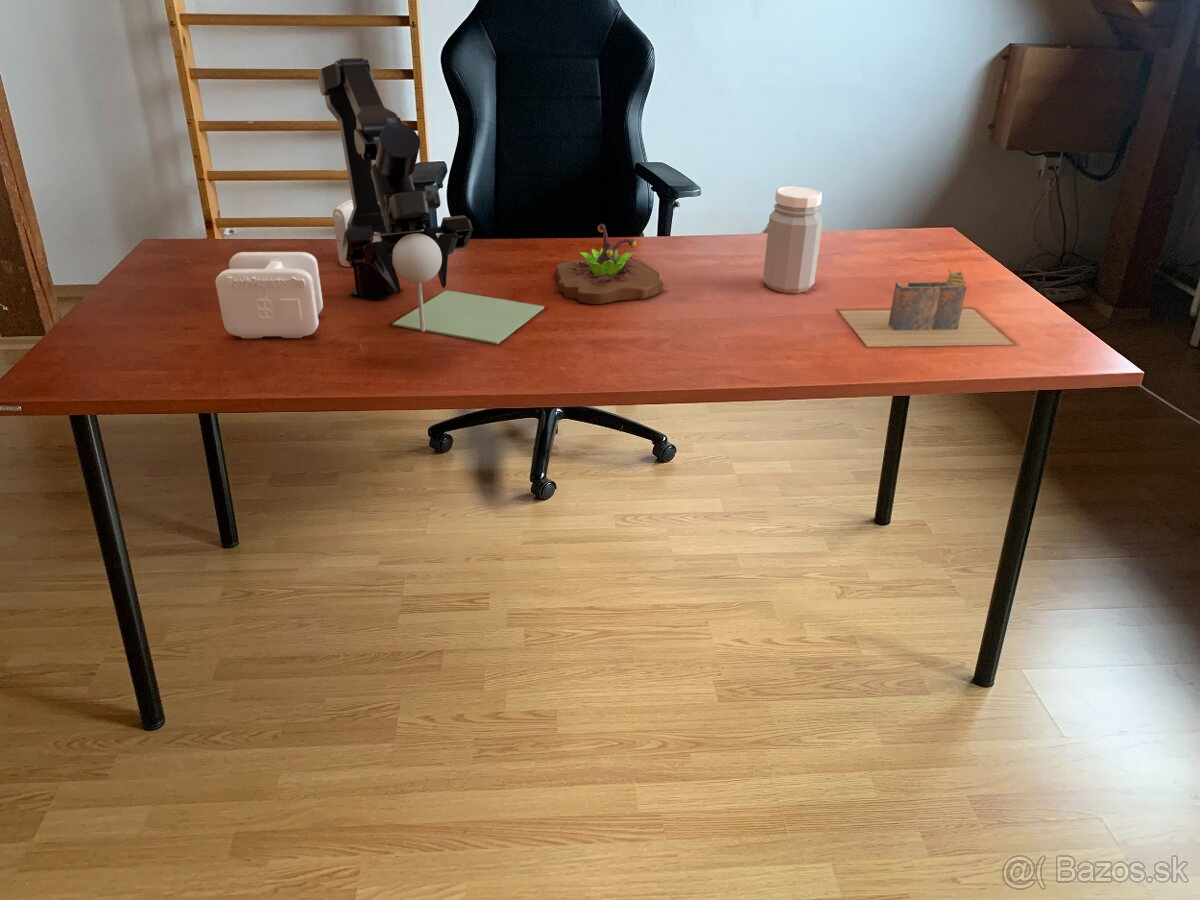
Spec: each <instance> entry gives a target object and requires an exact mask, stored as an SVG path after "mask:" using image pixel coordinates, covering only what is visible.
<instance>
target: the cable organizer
mask: <svg viewBox="0 0 1200 900" xmlns="http://www.w3.org/2000/svg"><path fill="white" fill-rule="evenodd" d="M228 266H229V268H228V269H225V270H223V271H221V272H220V273H219V274H218V275H217V277H216V278H215V283H214V284H215V287H216V293H217V297H218V298H217V299H218V304H219V308H220V313H221V319H222V323H223V328H224V329H225V331H226V332H227V333H228V334H230V335H232V336H235V337H240V338H242V339H261V338H263V337H281V338H283V339H300V338H303V337H307V336H310V335H313V334H314V333H315V332H316V331H317V329H318V327H319V324H320V323H319V322H320V320H319V315H320V313H321V312H322V310H323V308H324V302H323V294H322V287H321V286H322V285H321V279H320V271H319V265H318V260H317V258H316V257H315V256H314V255H313V254H311V253H309V252H305V251H241V252H237V253H235V254H234V255H233V256H232V257H231V258H230V259H229V261H228Z"/></svg>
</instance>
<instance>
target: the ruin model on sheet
mask: <svg viewBox="0 0 1200 900" xmlns="http://www.w3.org/2000/svg"><path fill="white" fill-rule="evenodd" d="M967 288H968V287H967V286H966V280H965V278H964V275H963V272H962V270H961V269H959V271H951V269H948V278H947V280H946V281H932V282H931V281H926V282H925V281H921V282H920V281H917V282H915V281H914V282H910V281H909V282H908V285H907V286H902V285H901V284H900V283H899V282H895V286H894V292H893V296H892V302H891V309H860V310H859V309H857V310H853V309H852V310H848V309H847V310H846V309H845V310H838V312H839V313H840V315H841V316H842V318H844V320H845V321H846V323H847V324H848V325H849V326H850V328H851V329H852V330H853V331H854V333H856V335H857V336H858V337H859V338H860V340H862V342H863V343H864V345H865V346H866V347H867V348H878V347H879V348H880V347H885V348H886V347H944V346H945V347H947V346H949V347H950V346H1005V345H1006V346H1008V345H1012V346H1013V345H1015V344H1014V343H1012V341H1011V340H1009V339H1008V338H1007V337H1006V336H1004V335H1003V334H1002V333H1001V332H1000V331H999V330H998V329H996V327H994V326H993V325H992V324H991V323H989V321H988V320H986V319H985V318H984V317H983V316H982V315H981V314H979V313H978V312H977V311H976V310H975V309H973V308H963V306H964V302H965V298H966V297H965V296H966V292H967Z"/></svg>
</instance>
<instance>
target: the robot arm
mask: <svg viewBox="0 0 1200 900" xmlns="http://www.w3.org/2000/svg"><path fill="white" fill-rule="evenodd" d="M318 86H319V87H318V88H319V92H320V95H321V97H322V96H324V100H325V105H326V108H327V109H328V111H329V112H330V113H331V114H332V116H333V117H334V118H335V119H336V120H337V122H338V126H339V131H340V137H341V142H342V149H343V154H344V159H345V160H344V161H345V166H346V171H347V172H346V173H347V176H348V183H349V189H350V195H351V199H352V201H353V211H352V213H351V216H350V218H349V221H348V224H347V226H348V228H347V229H346V230H345V232H344V239H343V251H344V255H345V259H346V261H348V263H349V264H350V267H351V268H353V276H354V284H355V290H353V291H351V292H350V295H351V296H352V297H358V298H362V299H369V300H376V301H383V300H384V299H386V298H387V297H389V296H392V295H393V294H394V293H396V294H397V295H400V294H401V293H402V289H401V285H400V280H399V277H398V275H397V271H396V270H395V267H394V264H393V260H392V255H393V250H394V247H395V245H396V244H397V242H398V241H399V240H400V239H401V238H403V237H404V236H406V235H409V234H423V235H426V236H428V237H430V238H431V239H433V240H434V241H435V242H436V243H437V245H438V246H439V248H440V251H441V254H442V263H441V267H440V270H439V272H438V273H437V275H438V280H439V283H440V286H441V287H442V288H443V289H444V288H446V286H447V280H448V279H447V278H448V264H449V263H448V262H449V255H452V254H453V253H454V252H455V250H460V249H464V248H466V247H468V244H469V242H470V239H471V237H472V234H473V231H474V228H473V225H472V221H471V219H470V218H468V217H467V216H466V215H465V214H464V215H454V216H445V217H444V216H443V217H442V220H441V223H440V226H436V227H426V226H425V224H426V225H427V224H428V223H429V217H428V216H429V215H430V214H431V212H430V210H437V209H439V208H440V207H441V198H440V193H439V190H438V187H437V185H436V184H431V185H424V186H423V187H422V188H421V190H415V186H414V182H413V178H412V174H414V172H415V169H416V164H417V161H418V160H417V159H418V155H419V152H420V147H421V139H420V136H419V134H417V132H416V130H414V129H413V128H412V127H410V126H408V125H406V124H403V123H402V120H401V118H400V117H399V116H398V115H397V113H396V112H394V111H392V110H391V109H388V108H386V106H385V105H384V103H383V101H382V98H381V96H380V93H379V92H378V90H377V87H376V85H375V80H374V75H373V68H372V65H371V64H370V63H369V60H368V59H367V58H365V59H364V58H363V57H347V58H339V59H337V60H335V62H334V63H332V64H329V65H326V66H323V67H322V68H321V69H320V70H319V73H318ZM373 161H375V163H374V164H373ZM378 202H379V203H378Z"/></svg>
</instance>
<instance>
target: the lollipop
mask: <svg viewBox="0 0 1200 900" xmlns="http://www.w3.org/2000/svg"><path fill="white" fill-rule="evenodd" d="M392 260H393V261H392V264H393V267H394V269H395V272H396V274H398V275H399V277H400V278H402V279H404V280H405V281H408V282H409V283H415V284H416V289H417V300H418V307H419V314H420V326H421V330H420V332H426V331H425V322H424V309H423V304H424V297H423V286H422V285H423V284H422V283H426V282H429V281H431V280H432V279H434V278H435V277H436V276H437V275H438V272H439V270H440V267H441V263H442V254H441V251H440V248H439V246H438V245H437V243H436V242H435V241H434V240H433V239H431V238H430V237H428V236H426V235H423V234H409V235H406V236H404V237H403V238H401V239H400V240H399V241H398V242H397V244H396V245H395V247H394V250H393V255H392Z"/></svg>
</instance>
